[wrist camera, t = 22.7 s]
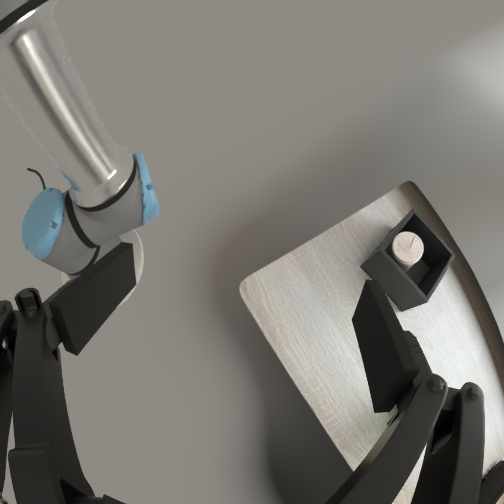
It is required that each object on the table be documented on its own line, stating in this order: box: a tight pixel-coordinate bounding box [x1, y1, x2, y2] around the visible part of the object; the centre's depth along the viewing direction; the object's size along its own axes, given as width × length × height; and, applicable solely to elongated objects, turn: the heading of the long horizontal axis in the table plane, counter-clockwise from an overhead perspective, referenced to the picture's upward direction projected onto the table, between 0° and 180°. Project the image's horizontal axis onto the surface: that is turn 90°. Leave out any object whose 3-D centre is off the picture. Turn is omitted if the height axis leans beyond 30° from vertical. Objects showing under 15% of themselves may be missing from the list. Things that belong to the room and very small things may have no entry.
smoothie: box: [392, 232, 424, 273], centre depth 47 cm, size 6×6×14 cm
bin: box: [360, 209, 455, 312], centre depth 49 cm, size 14×14×10 cm
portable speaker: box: [477, 461, 504, 504], centre depth 24 cm, size 26×10×10 cm, turn 135°
